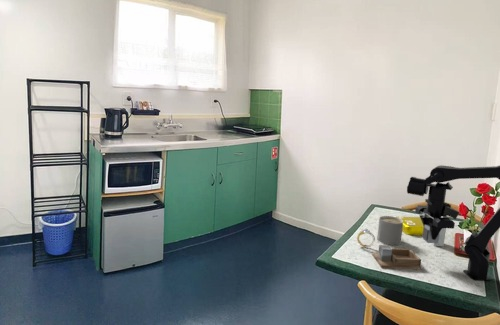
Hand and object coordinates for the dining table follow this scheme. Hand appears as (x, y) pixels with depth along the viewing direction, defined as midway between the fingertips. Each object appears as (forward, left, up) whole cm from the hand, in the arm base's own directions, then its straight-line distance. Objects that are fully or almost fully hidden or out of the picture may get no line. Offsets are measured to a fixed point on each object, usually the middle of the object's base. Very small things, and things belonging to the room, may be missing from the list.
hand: (430, 237), depth 137 cm
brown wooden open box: (-1, +13, -10) cm, 17 cm away
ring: (+12, +21, -11) cm, 26 cm away
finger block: (0, 0, -2) cm, 2 cm away
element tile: (+36, -11, -11) cm, 39 cm away
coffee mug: (+22, +7, -11) cm, 25 cm away
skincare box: (+19, -13, -11) cm, 25 cm away
